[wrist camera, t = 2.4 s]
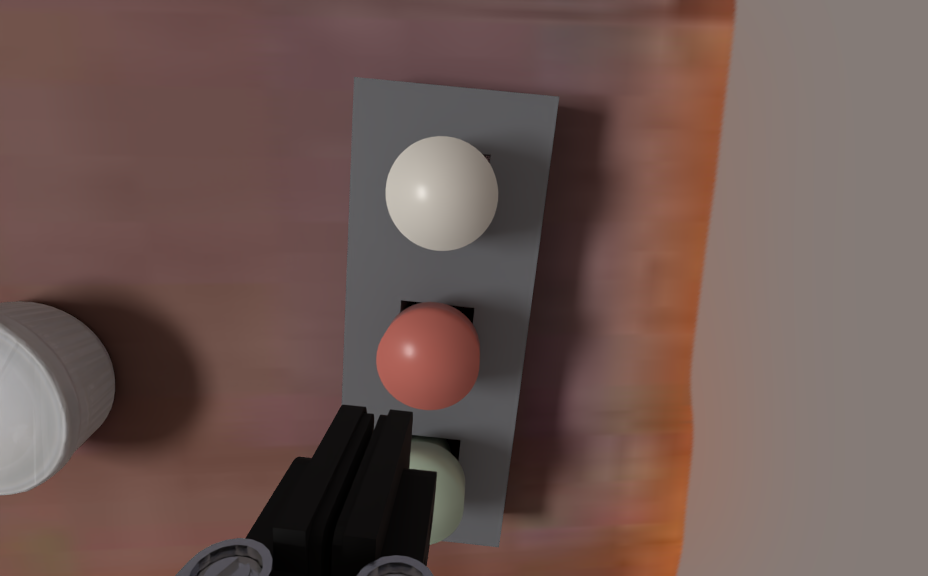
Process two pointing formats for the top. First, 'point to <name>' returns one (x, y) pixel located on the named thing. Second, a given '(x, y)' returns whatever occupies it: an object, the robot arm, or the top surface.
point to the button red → (429, 356)
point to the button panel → (450, 268)
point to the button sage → (441, 482)
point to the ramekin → (47, 391)
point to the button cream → (441, 193)
